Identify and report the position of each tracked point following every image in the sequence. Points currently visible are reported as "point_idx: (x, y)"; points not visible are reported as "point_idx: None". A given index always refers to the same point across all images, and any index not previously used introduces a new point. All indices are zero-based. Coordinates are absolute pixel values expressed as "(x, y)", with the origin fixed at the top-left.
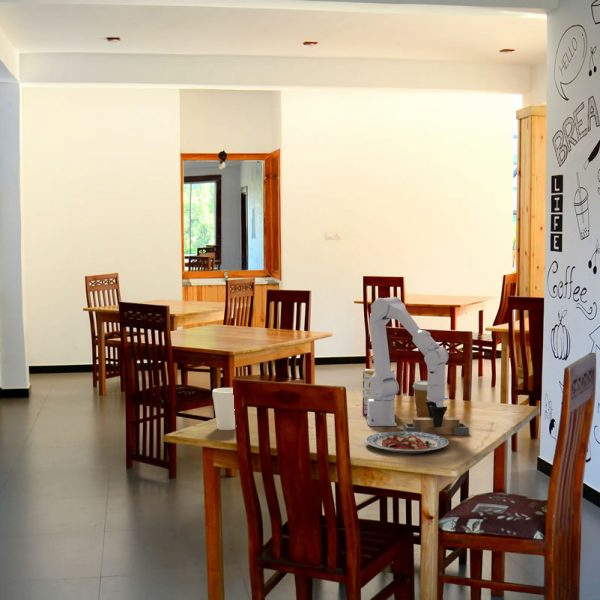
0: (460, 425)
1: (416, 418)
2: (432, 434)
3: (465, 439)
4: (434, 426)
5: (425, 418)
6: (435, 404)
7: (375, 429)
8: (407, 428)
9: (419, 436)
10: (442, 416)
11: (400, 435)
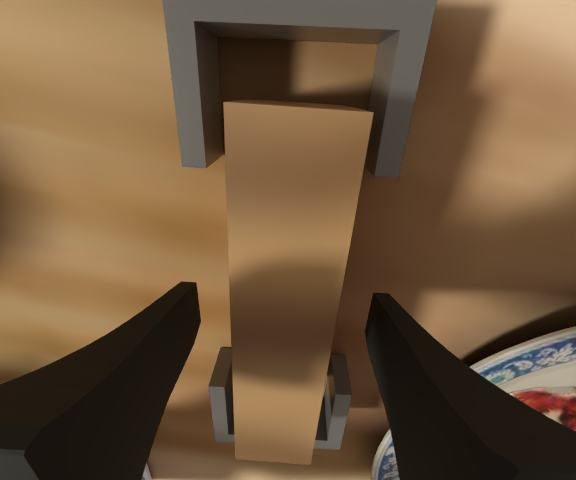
0: (202, 50)
1: (266, 448)
2: (513, 359)
3: (562, 104)
4: (367, 334)
5: (267, 405)
6: (99, 460)
7: (204, 472)
8: (341, 442)
9: None
10: (457, 370)
11: None
